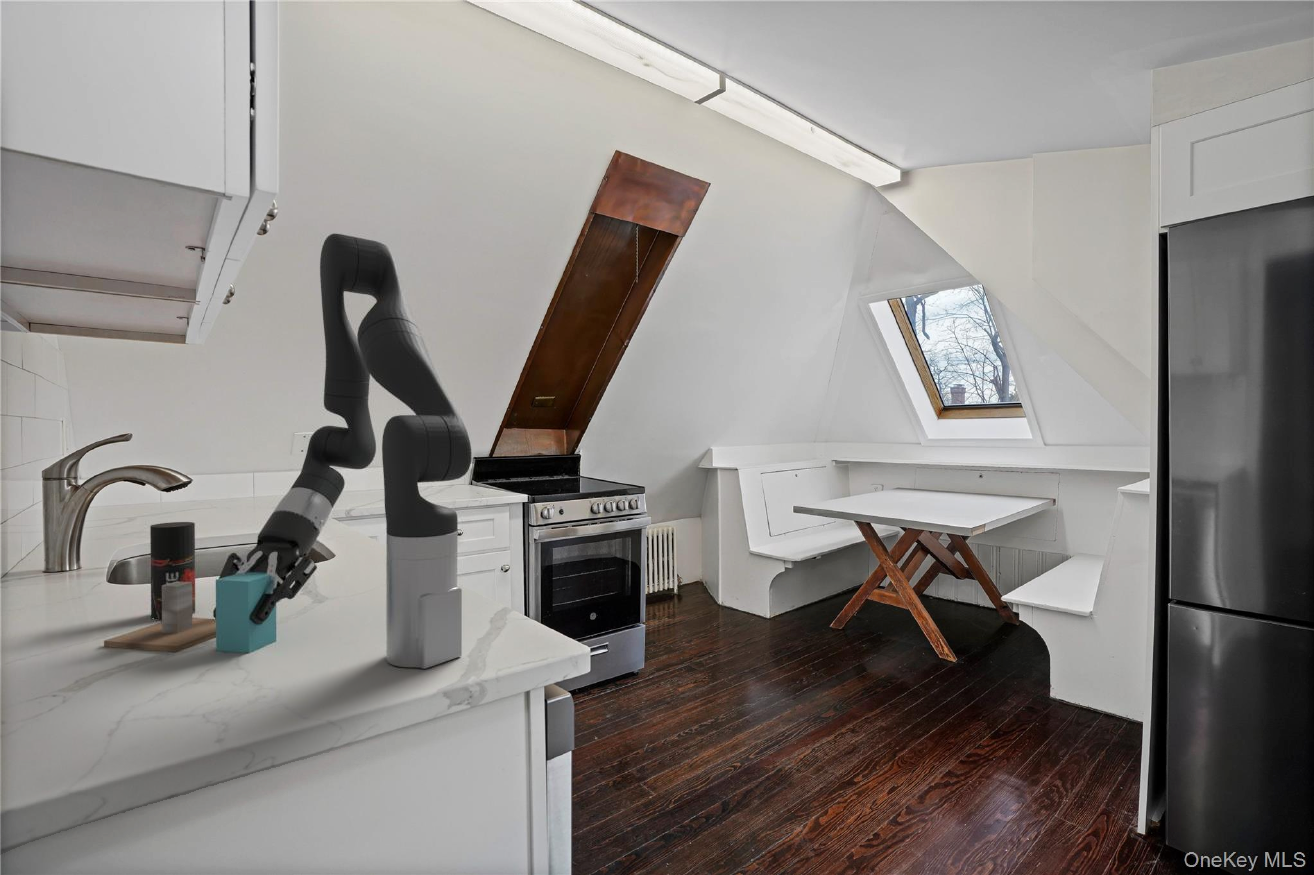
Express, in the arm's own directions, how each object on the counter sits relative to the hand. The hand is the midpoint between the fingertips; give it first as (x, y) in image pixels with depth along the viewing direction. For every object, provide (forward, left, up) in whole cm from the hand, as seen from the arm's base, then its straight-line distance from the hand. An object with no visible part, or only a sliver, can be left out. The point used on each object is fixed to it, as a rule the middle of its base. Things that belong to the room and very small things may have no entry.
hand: (236, 620), depth 93 cm
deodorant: (+27, -2, -4) cm, 27 cm away
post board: (+14, +2, -4) cm, 15 cm away
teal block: (+1, -2, -4) cm, 5 cm away
